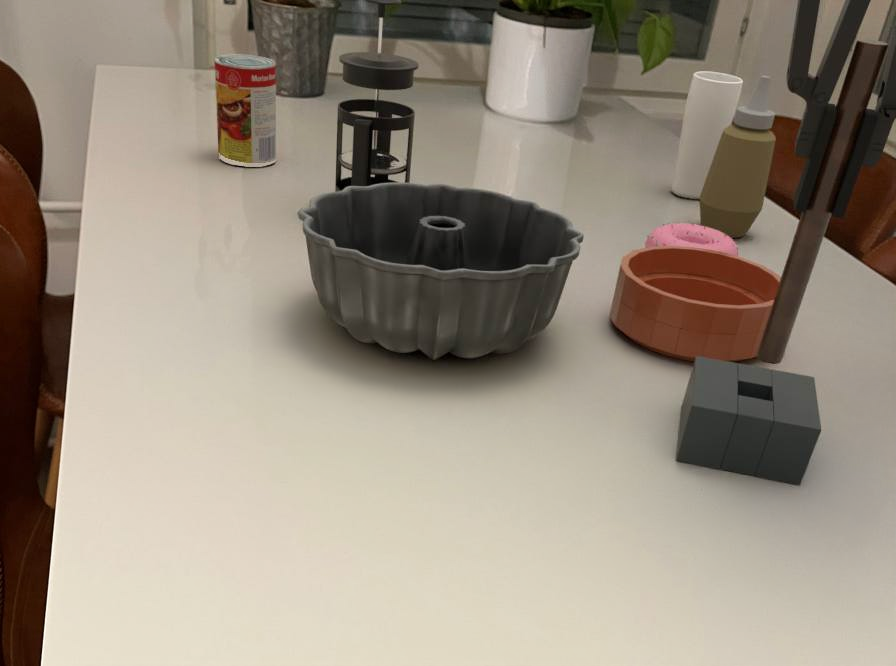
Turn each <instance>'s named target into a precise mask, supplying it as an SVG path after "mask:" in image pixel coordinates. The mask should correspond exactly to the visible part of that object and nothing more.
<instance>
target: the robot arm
mask: <svg viewBox="0 0 896 666" xmlns="http://www.w3.org/2000/svg"><path fill="white" fill-rule="evenodd" d="M871 2H872V0H844V3H843V5H842V7H841V11H840V13H839V15H838V18H837V21H836V23H835V25H834V28H833V30H832V32H831V35H830V38H829V40H828V43H827V46H826V47H825V50H824V53H823V56H822V58H821V61H820V63H819V66H818V68H817V70H816V74H815V76H813V75H812V74H811V73H809V72H810V64H811V59H812V52H813V46H814V42H815V41H814V40H815V34H816V27H817V22H818V16H819V10H820V4H821V0H797V4H796V5H797V6H796V12H795V19H794V25H793V31H792V38H791V45H790V51H789V56H788V64H787V71H786V77H785V78H786V86H787V89H788V91H789V92H790V93H792V94H795V95H797V96H798V97H800V98H801V99H803V100H804V101H805V109H804V112H803V115H802V117H801V121H800V124H799V128H798V132H797V134H796V138H795V141H794V153H795V157H799V158H805V162H804V165H803V168H802V171H801V174H800V177H799V181H798V183H797V187H796V191H795V193H794V196H793V200H792V202H793V203H792V204H793V210H794V212H798V213H802V212H804V213H805V212H806V209H807V206H808V203H809V200H810V197H811V194H812V190H813V187H814V184H815V181H816V178H817V175H818V172H819V169H820V166H821V162H822V159H823V156H824V153H825V150H826V147H827V144H828V141H829V138H830V134H831V131H832V128H833V125H834V122H835V119H836V116H837V113H838V112H837V109H836V108H835V107H836V104H835V103H829V102H830V101H831V99H832V96H833V94H834V91H835V89H836V87H837V84H838V82H839V79H840V77H841V74H842V72H843V70H844V67H845V64H846V62H847V60H848V57H849V54H850V52H851V51H852V50H851V49H852V47H853V45H854V42H855V40H856V38H857V35H858V33H859V30H860V27H861V26H862V23H863V20H864V18H865V16H866V13H867V11H868V8H869V6H870V3H871ZM893 29H894V30H893V34H892V38H891V41H890V45H889V49H888V54H887V58H886V62H885V65H884V70H883V74H882V77H881V82H880V86H879V89H878V93H877V97H876V106H875V108H874V109H873V108H867V110H866V113H865V115H864V118H863V121H862V124H861V127H860V130H859V133H858V136H857V139H856V142H855V145H854V148H853V150H852V153H851V156H850V159H849V162H848V165H847V168H846V171H845V174H844V177H843V180H842V183H841V186H840V189H839V192H838V195H837V198H836V201H835V204H834V207H833V210H832V213H831V217H832V218H837V219H842V220H843V219H844V218H845V215H846V212H847V210H848V206H849V203H850V201H851V197H852V194H853V191H854V189H855V186H856V184H857V181H858V177H859V174H860V171H861V169H862V167H866V168H867V167H868V168H875V167H877V165H878V163H879V162H880V161H881V158H882V155H883V152H884V150H885V147H886V144H887V142H888V138H889V135H890V133H891V130H892V127H893V125H894V122H895V121H896V24H895V25H894V28H893Z"/></svg>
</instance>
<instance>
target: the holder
mask: <svg viewBox="0 0 896 666" xmlns="http://www.w3.org/2000/svg"><path fill="white" fill-rule="evenodd" d="M690 372H691V373H690V375H689V379H688V381H687V386H686V389H685V392H684V396H683V400H682V403H681V407H680V418H679V426H678V435H677V446H676V455H675V461H677V462H681V463H686V464H692V465H695V466H700V467H701V466H702V467H706V468H711V469H716V470H722V471H727V472H732V473H737V474H742V475H748V476H751V477H755V478H762V479H765V480H771V481H776V482H780V483H786V484H792V485H795V486H801V484H802V481H803V478H804V477H805V473H806V472H807V470H808V469H807V468H808V467H809V464H810V461H811V459H812V456H813V454H814V451H815V448H816V446H817V443H818V441H819V438H820V435H821V433H822V423H821V418H820V409H819V403H818V394H817V388H816V381H815V376H811V375H805V374H799V373H794V372H788V371H782V370H777V369H771V368H767V367H760V366H755V365H750V364H744V363H737V362H728V361H722V360H717V359H711V358H706V357H700V356H696V357H695V361H693V365H692V369H691V371H690Z"/></svg>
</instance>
